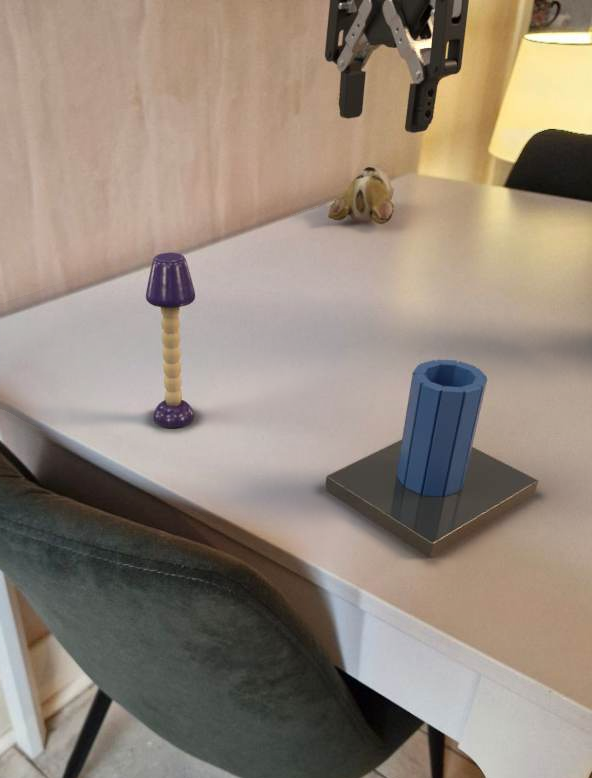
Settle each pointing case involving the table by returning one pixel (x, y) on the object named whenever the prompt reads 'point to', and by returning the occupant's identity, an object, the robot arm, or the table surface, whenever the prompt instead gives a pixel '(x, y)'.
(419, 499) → the yellow peg on plate
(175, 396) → the toy lamp
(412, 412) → the sleeve
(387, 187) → the ceramic sculpture
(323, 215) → the table surface
